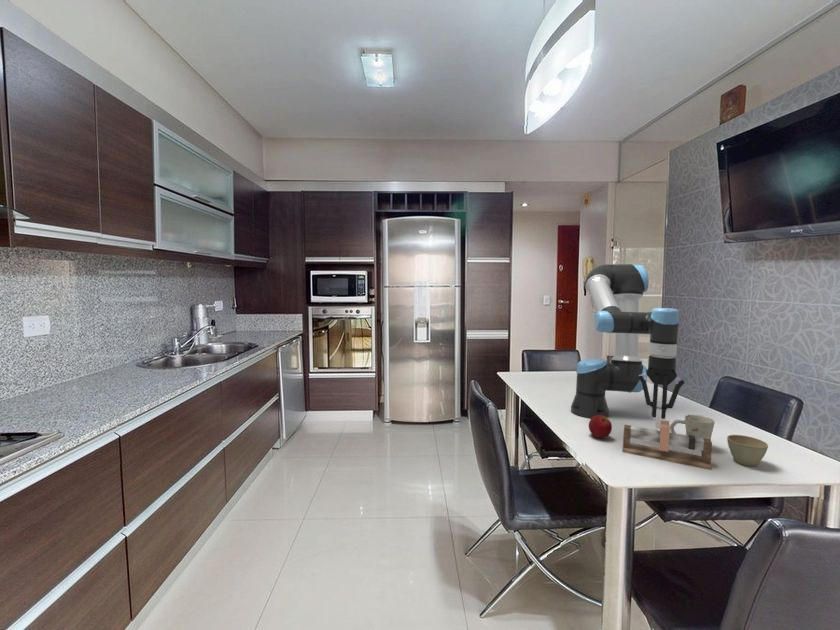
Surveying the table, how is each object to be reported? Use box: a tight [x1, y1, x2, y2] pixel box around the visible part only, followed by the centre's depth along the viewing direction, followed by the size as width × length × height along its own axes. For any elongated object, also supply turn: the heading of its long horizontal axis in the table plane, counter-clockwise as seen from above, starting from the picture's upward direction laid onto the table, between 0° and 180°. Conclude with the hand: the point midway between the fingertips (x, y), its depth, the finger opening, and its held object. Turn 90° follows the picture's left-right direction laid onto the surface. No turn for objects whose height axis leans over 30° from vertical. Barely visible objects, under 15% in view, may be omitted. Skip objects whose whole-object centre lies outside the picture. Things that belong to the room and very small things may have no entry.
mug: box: [670, 414, 715, 440], centre depth 138 cm, size 8×13×10 cm, turn 58°
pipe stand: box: [621, 424, 713, 470], centre depth 129 cm, size 24×8×8 cm, turn 60°
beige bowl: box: [726, 434, 769, 467], centre depth 125 cm, size 10×10×7 cm
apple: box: [588, 415, 613, 439], centre depth 145 cm, size 8×8×8 cm
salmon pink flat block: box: [658, 419, 671, 452], centre depth 129 cm, size 2×7×8 cm, turn 150°
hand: (657, 427), depth 130 cm, fingers closed
